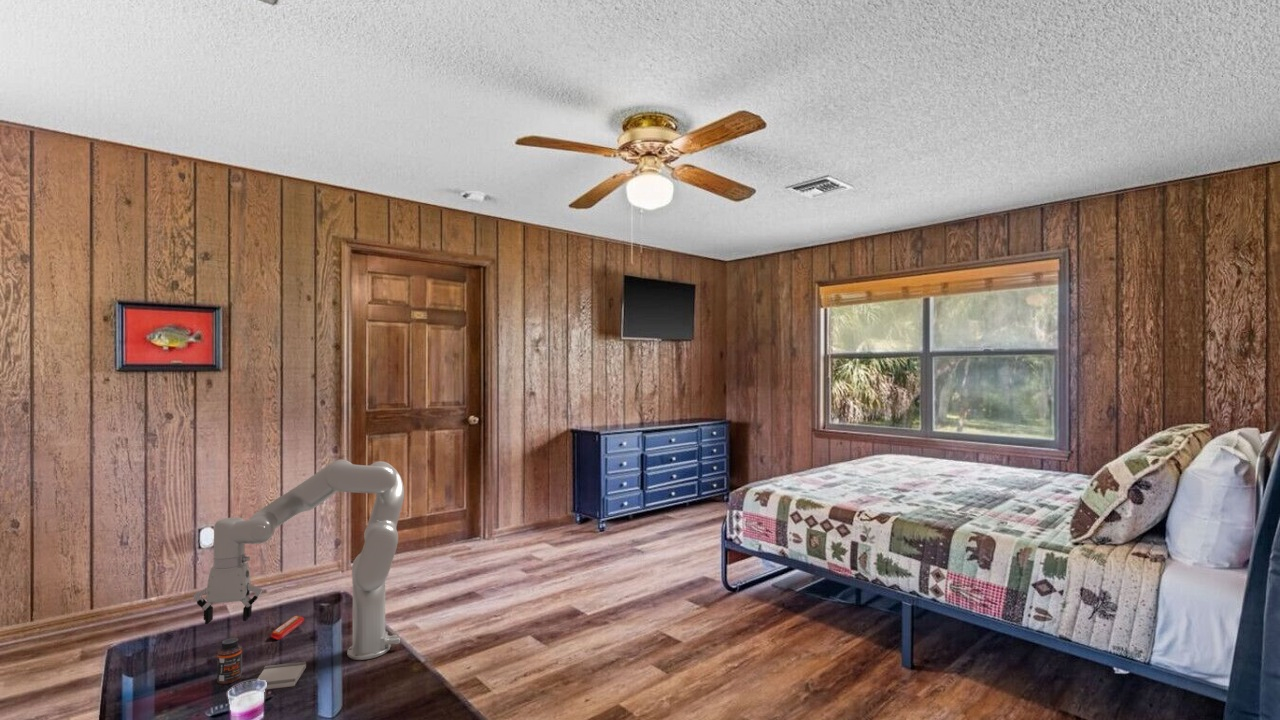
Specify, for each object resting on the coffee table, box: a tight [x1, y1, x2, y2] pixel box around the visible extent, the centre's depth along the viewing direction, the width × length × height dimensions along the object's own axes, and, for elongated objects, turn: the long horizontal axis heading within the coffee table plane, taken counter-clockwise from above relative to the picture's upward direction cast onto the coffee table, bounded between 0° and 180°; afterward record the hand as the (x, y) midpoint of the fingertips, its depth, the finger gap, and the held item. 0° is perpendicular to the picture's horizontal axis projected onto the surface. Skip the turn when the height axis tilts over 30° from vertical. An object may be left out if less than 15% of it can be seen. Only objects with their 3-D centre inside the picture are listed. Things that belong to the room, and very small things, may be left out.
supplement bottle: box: [216, 637, 243, 685], centre depth 176 cm, size 6×6×11 cm
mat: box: [255, 661, 307, 690], centre depth 176 cm, size 11×11×2 cm
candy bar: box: [270, 615, 305, 641], centre depth 208 cm, size 16×4×3 cm, turn 0°
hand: (227, 620), depth 176 cm, fingers open, 9 cm apart
